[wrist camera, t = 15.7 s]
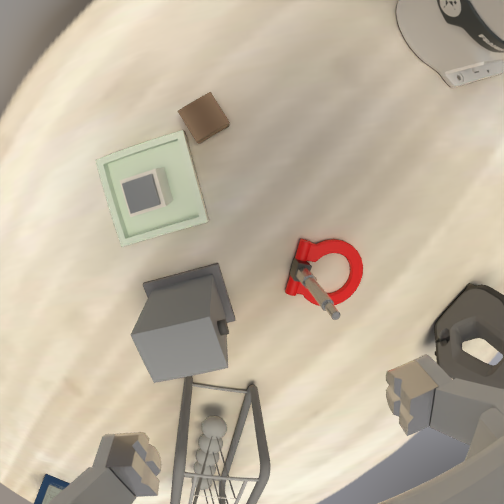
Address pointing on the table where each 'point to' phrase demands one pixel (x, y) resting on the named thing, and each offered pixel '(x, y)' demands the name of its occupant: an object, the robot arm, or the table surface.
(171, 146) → the tray
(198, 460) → the newton's cradle
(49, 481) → the protein box
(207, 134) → the walnut block
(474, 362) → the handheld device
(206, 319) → the control box
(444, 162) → the table surface
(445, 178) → the table surface
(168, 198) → the block
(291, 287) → the tow hook
